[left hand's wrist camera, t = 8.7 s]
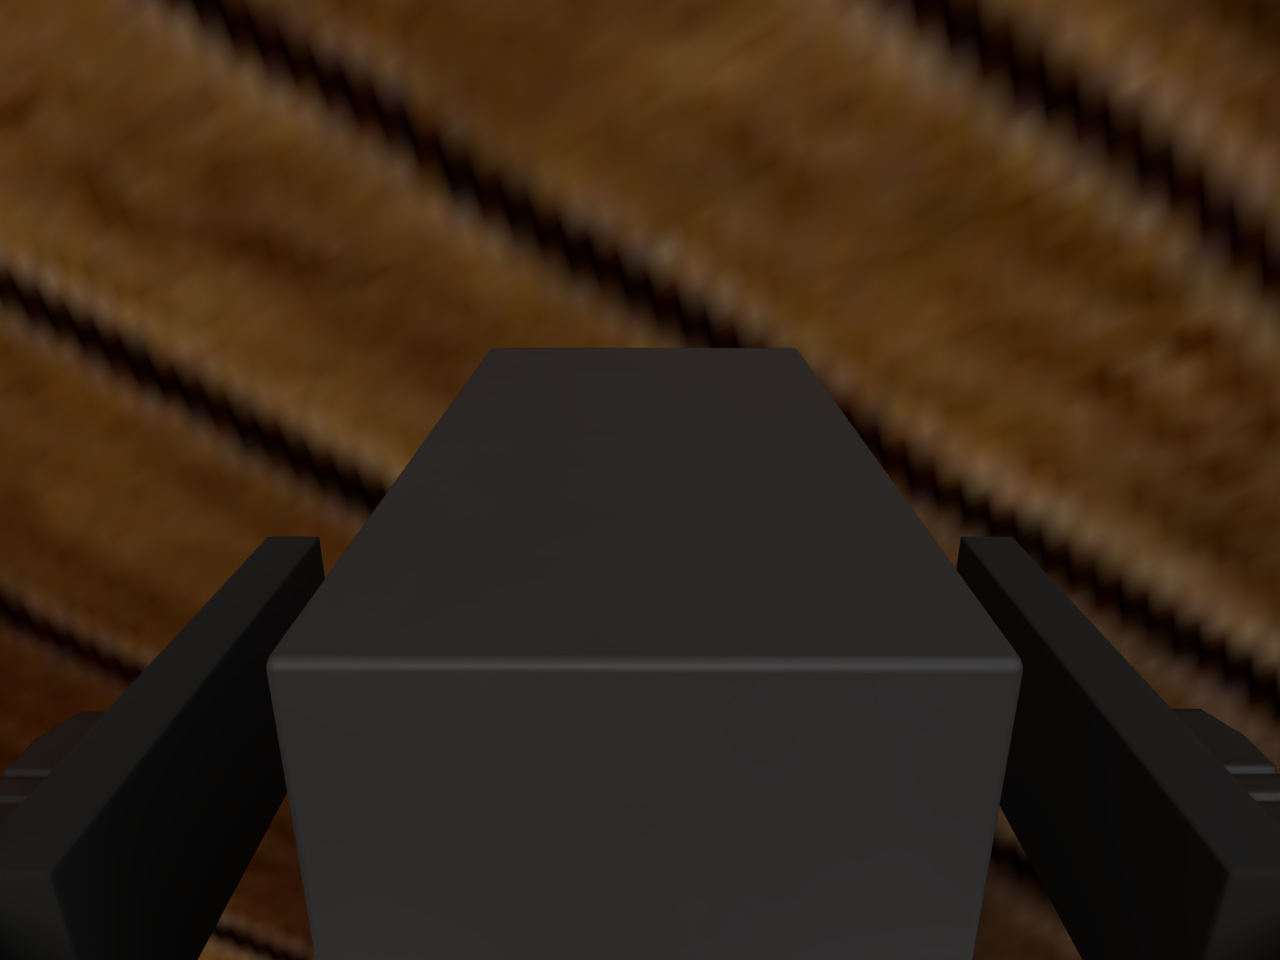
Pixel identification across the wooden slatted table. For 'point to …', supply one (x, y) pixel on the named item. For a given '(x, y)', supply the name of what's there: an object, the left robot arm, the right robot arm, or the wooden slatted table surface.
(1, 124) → the wooden slatted table surface
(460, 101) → the wooden slatted table surface
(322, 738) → the bar
